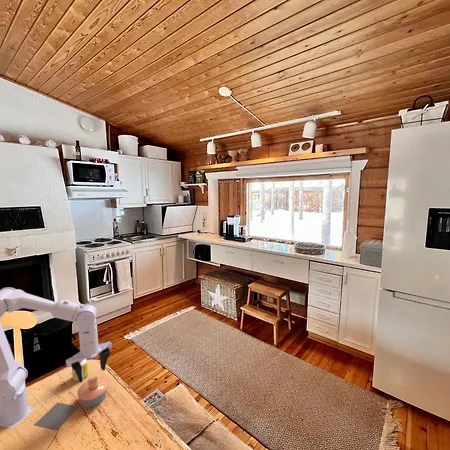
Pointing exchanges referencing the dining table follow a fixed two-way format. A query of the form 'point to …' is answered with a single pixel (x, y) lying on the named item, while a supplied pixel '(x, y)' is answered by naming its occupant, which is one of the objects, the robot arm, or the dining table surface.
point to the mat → (56, 416)
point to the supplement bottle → (84, 371)
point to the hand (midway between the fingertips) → (92, 374)
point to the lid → (92, 388)
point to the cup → (94, 401)
